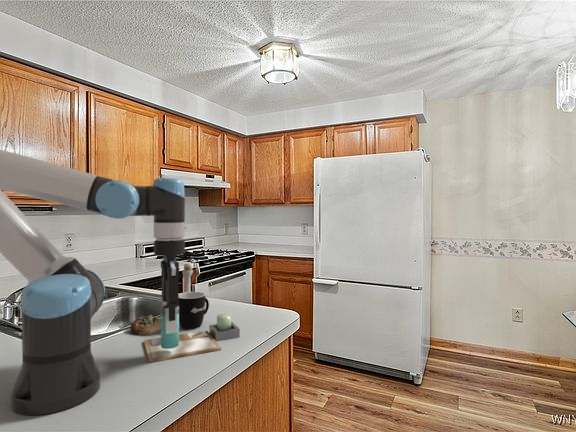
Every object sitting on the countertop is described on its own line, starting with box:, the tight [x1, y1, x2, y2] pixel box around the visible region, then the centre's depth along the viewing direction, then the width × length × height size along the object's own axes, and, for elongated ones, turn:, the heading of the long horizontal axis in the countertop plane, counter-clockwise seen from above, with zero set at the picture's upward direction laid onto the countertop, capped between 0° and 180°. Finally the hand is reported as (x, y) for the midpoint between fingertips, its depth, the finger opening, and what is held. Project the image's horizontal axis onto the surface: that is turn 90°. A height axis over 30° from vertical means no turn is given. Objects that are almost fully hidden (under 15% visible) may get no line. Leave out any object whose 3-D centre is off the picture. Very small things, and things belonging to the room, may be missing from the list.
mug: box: [179, 291, 210, 330], centre depth 115 cm, size 12×9×10 cm
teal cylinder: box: [160, 305, 180, 349], centre depth 92 cm, size 4×4×10 cm
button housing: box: [208, 321, 241, 342], centre depth 106 cm, size 7×7×2 cm
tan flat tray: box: [143, 329, 222, 364], centre depth 98 cm, size 18×15×1 cm
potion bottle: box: [181, 263, 194, 293], centre depth 126 cm, size 9×9×18 cm
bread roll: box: [129, 314, 161, 336], centre depth 111 cm, size 11×11×5 cm
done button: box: [216, 313, 232, 331], centre depth 106 cm, size 4×4×4 cm
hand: (169, 329), depth 92 cm, fingers closed on teal cylinder, 4 cm apart
